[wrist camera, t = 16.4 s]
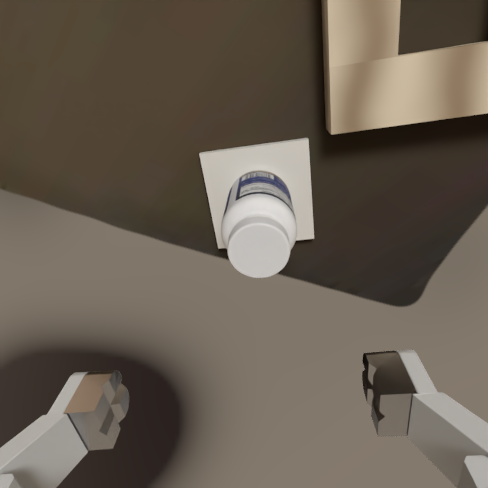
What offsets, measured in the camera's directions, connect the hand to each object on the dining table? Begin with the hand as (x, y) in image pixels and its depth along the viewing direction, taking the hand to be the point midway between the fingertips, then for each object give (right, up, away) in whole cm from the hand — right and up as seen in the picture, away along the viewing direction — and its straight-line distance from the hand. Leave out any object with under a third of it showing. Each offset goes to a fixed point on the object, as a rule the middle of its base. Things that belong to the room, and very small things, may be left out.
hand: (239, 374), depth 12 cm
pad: (+2, +9, +19) cm, 21 cm away
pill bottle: (+2, +8, +19) cm, 21 cm away
